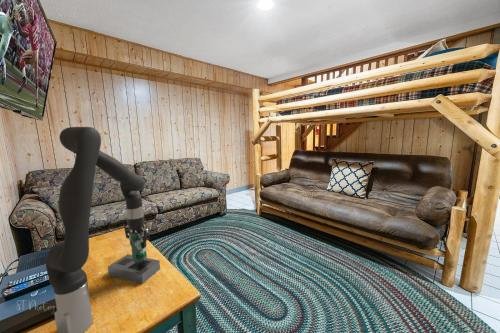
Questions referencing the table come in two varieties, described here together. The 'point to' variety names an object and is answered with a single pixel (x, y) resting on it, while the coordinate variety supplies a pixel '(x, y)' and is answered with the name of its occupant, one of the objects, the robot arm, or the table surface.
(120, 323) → the table surface
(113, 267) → the block with square hole
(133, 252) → the can
